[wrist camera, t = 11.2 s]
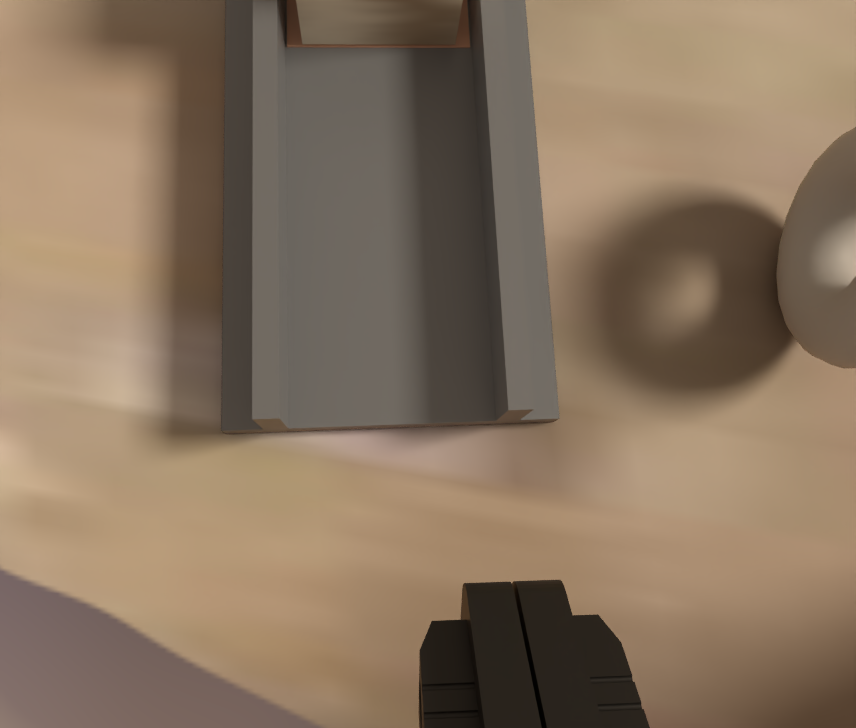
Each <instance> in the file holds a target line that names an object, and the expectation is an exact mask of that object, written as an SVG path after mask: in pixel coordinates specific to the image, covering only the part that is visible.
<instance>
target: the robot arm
mask: <svg viewBox="0 0 856 728" xmlns="http://www.w3.org/2000/svg"><path fill="white" fill-rule="evenodd" d="M419 727H420V728H650V727H649V724H648V721H647V718H646V715H645V712H644V709H642V707H641V700H640V697H639V694H638V691H637V688H636V685H635V682H633V681H632V674H631V671H630V668H629V665H628V662H627V659H626V656H625V653H624V650H623V647H622V644H621V642H620V641H619V639H618V638H617V637H616V636H615V635H614V633H613V632H612V631H611V630H610V628H609V627H608V626H607V625H606V624H605V622H604V621H603V620H602V619H601V618H600V616H599V615H574V616H572V612H571V609H570V605H569V601H568V598H567V594H566V591H565V588H564V585H563V583H562V581H561V580H539V581H513V583H512V584H511V582H488V583H464V584H463V589H462V606H461V620H446V621H432V622H431V624H430V627H429V629H428V632H427V634H426V637H425V639H424V642H423V644H422V646H421V649H420V667H419Z"/></svg>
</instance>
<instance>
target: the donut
mask: <svg viewBox="0 0 856 728" xmlns="http://www.w3.org/2000/svg"><path fill="white" fill-rule="evenodd" d="M776 277H777V289H778V302H779V305H780V308H781V311H782V314H783V317H784V320H785V323H786V325H787V327H788V329H789V330H790V332H791V333H792V335H793V336H794V337H795V339H796V340H797V341H798V342H799V344H800V345H801V346H802V348H803V349H804V350H806V351H807V352H808V353H810V354H811V355H812V356H814V357H816V358H819V359H821V360H823V361H825V362H827V363H829V364H831V365H834V366H837V367H841V368H856V127H855V128H854V129H852V130H850V131H848V132H847V133H845V134H843V135H842V136H840V137H839V138H838V139H837V140H835V141H834V142H833V143H832V144H831V145H830V146H829V147H828V148H827V149H826V150H825V151H824V153H823V154H822V155H821V156H820V157H819V158H818V159H817V160H816V161H815V162H814V164H813V165H812V167H811V168H810V170H809V172H808V173H807V175H806V176H805V178H804V180H803V181H802V183H801V184H800V186H799V188H798V190H797V193H796V195H795V197H794V200H793V202H792V204H791V207H790V209H789V212H788V214H787V217H786V220H785V224H784V228H783V232H782V236H781V240H780V244H779V252H778V263H777V273H776Z"/></svg>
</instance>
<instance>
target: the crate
mask: <svg viewBox="0 0 856 728" xmlns="http://www.w3.org/2000/svg"><path fill="white" fill-rule="evenodd" d="M462 2H463V0H296V4H297V10H298V17H299V24H300V31H301V38H302V44H347V45H455V43H456V38H457V32H458V26H459V20H460V14H461V8H462Z"/></svg>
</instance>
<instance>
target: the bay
mask: <svg viewBox="0 0 856 728" xmlns="http://www.w3.org/2000/svg"><path fill="white" fill-rule="evenodd" d="M558 419H559V407H558V395H557V383H556V370H555V358H554V346H553V334H552V322H551V309H550V297H549V285H548V273H547V261H546V248H545V236H544V224H543V212H542V200H541V187H540V175H539V163H538V151H537V139H536V126H535V114H534V102H533V90H532V78H531V65H530V53H529V41H528V29H527V17H526V4H525V0H463V2H462V8H461V14H460V20H459V26H458V32H457V38H456V43H455V45H347V44H302V38H301V31H300V24H299V17H298V10H297V4H296V0H226V10H225V110H224V209H223V308H222V408H221V431H222V432H224V433H225V434H236V433H263V432H290V431H317V430H344V429H371V428H398V427H425V426H453V425H480V424H507V423H534V422H554V421H556V420H558Z"/></svg>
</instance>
